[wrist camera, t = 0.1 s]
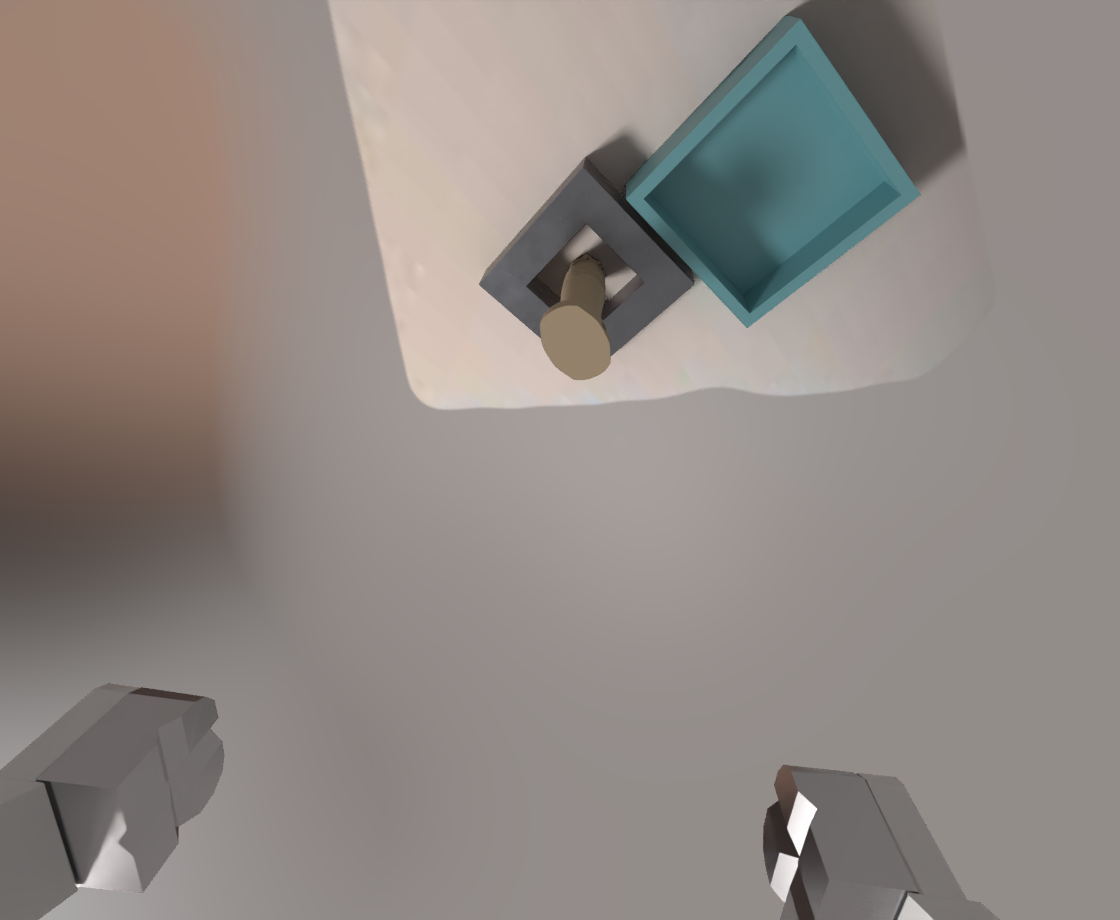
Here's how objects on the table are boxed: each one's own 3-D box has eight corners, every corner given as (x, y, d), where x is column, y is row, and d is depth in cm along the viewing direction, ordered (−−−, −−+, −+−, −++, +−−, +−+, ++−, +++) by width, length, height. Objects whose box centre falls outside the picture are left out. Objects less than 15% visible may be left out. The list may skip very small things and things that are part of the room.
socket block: (585, 156, 51) (583, 167, 48) (691, 269, 56) (694, 284, 53) (485, 270, 58) (478, 284, 55) (588, 360, 63) (586, 377, 60)
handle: (593, 227, 54) (583, 295, 43) (624, 287, 58) (622, 365, 46) (548, 252, 56) (527, 323, 45) (580, 308, 59) (568, 388, 48)
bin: (785, 15, 43) (800, 18, 40) (898, 177, 49) (920, 194, 46) (626, 182, 52) (625, 199, 48) (739, 304, 58) (747, 328, 54)
